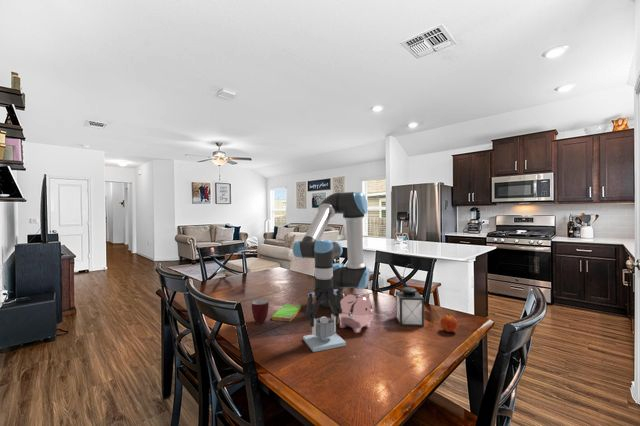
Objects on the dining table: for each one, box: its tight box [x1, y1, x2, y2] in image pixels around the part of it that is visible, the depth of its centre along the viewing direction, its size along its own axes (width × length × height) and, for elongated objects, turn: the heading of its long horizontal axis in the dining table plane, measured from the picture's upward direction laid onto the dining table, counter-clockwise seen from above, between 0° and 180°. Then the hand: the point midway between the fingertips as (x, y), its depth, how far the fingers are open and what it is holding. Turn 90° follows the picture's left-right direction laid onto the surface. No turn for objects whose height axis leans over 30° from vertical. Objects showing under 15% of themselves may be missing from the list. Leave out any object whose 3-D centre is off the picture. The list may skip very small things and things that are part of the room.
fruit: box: [440, 313, 458, 333], centre depth 131 cm, size 7×7×8 cm
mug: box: [251, 299, 269, 325], centre depth 142 cm, size 11×8×10 cm
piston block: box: [302, 316, 347, 353], centre depth 121 cm, size 14×12×10 cm
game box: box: [271, 303, 302, 322], centre depth 155 cm, size 3×10×20 cm
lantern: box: [395, 264, 425, 327], centre depth 143 cm, size 11×11×28 cm
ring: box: [315, 317, 334, 337], centre depth 121 cm, size 8×8×5 cm
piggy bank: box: [338, 292, 375, 334], centre depth 137 cm, size 15×18×16 cm
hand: (323, 332), depth 121 cm, fingers closed on ring, 8 cm apart
